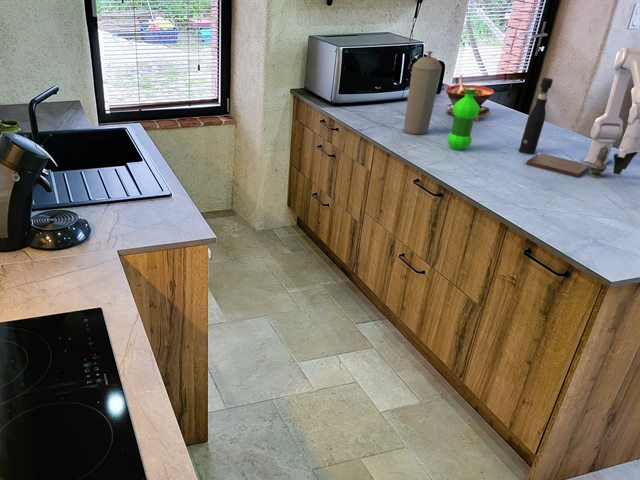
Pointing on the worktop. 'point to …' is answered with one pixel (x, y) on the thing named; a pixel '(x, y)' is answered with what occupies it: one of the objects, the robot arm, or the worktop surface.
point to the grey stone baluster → (599, 163)
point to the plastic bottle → (463, 120)
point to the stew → (480, 97)
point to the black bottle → (535, 120)
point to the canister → (422, 94)
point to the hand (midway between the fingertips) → (619, 171)
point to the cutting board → (558, 165)
